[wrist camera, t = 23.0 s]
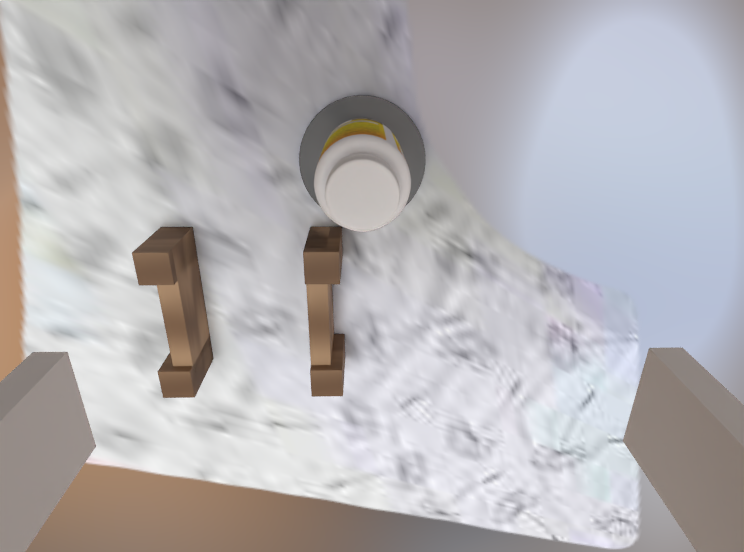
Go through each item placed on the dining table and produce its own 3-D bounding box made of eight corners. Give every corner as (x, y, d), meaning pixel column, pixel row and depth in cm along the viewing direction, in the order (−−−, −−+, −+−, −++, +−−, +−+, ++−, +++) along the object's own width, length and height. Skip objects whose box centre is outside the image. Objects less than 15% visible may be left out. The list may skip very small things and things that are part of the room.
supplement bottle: (306, 158, 35) (286, 198, 26) (360, 99, 33) (360, 118, 24) (363, 211, 37) (364, 265, 27) (417, 156, 35) (437, 195, 26)
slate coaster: (296, 95, 34) (295, 96, 33) (427, 95, 34) (428, 96, 33) (303, 220, 38) (302, 223, 37) (421, 220, 38) (422, 222, 37)
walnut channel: (160, 227, 38) (131, 252, 33) (341, 226, 38) (338, 252, 33) (185, 359, 43) (163, 397, 38) (345, 357, 43) (342, 396, 38)
